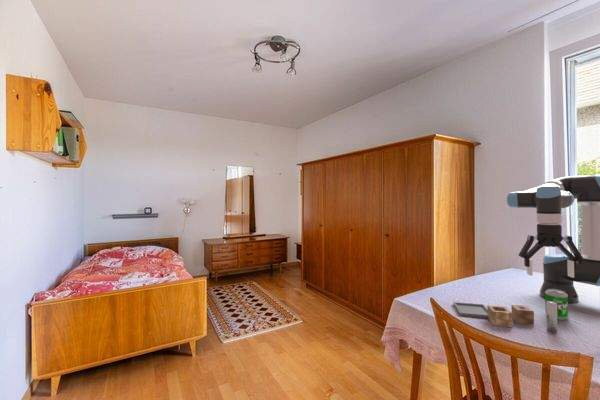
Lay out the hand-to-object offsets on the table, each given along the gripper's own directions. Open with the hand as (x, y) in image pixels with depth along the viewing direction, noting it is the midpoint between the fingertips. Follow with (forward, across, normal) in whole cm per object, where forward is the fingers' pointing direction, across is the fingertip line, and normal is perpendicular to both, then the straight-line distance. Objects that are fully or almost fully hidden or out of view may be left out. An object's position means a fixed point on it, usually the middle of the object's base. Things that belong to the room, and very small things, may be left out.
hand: (549, 275), depth 112 cm
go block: (+23, +17, -4) cm, 29 cm away
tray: (+23, +25, -14) cm, 36 cm away
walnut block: (+23, +7, -8) cm, 25 cm away
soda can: (+23, -9, -16) cm, 29 cm away
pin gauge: (+23, 0, 0) cm, 23 cm away
